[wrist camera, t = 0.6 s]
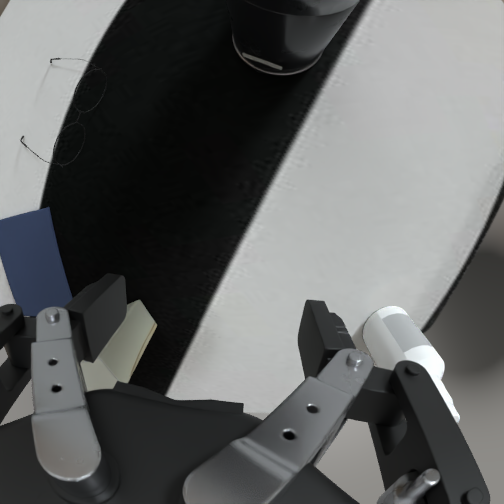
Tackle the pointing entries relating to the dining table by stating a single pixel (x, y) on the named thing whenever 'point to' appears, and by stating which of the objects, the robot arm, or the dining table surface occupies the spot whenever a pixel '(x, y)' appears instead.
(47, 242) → the cloth
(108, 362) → the cosmetic box
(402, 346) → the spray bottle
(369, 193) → the dining table surface
